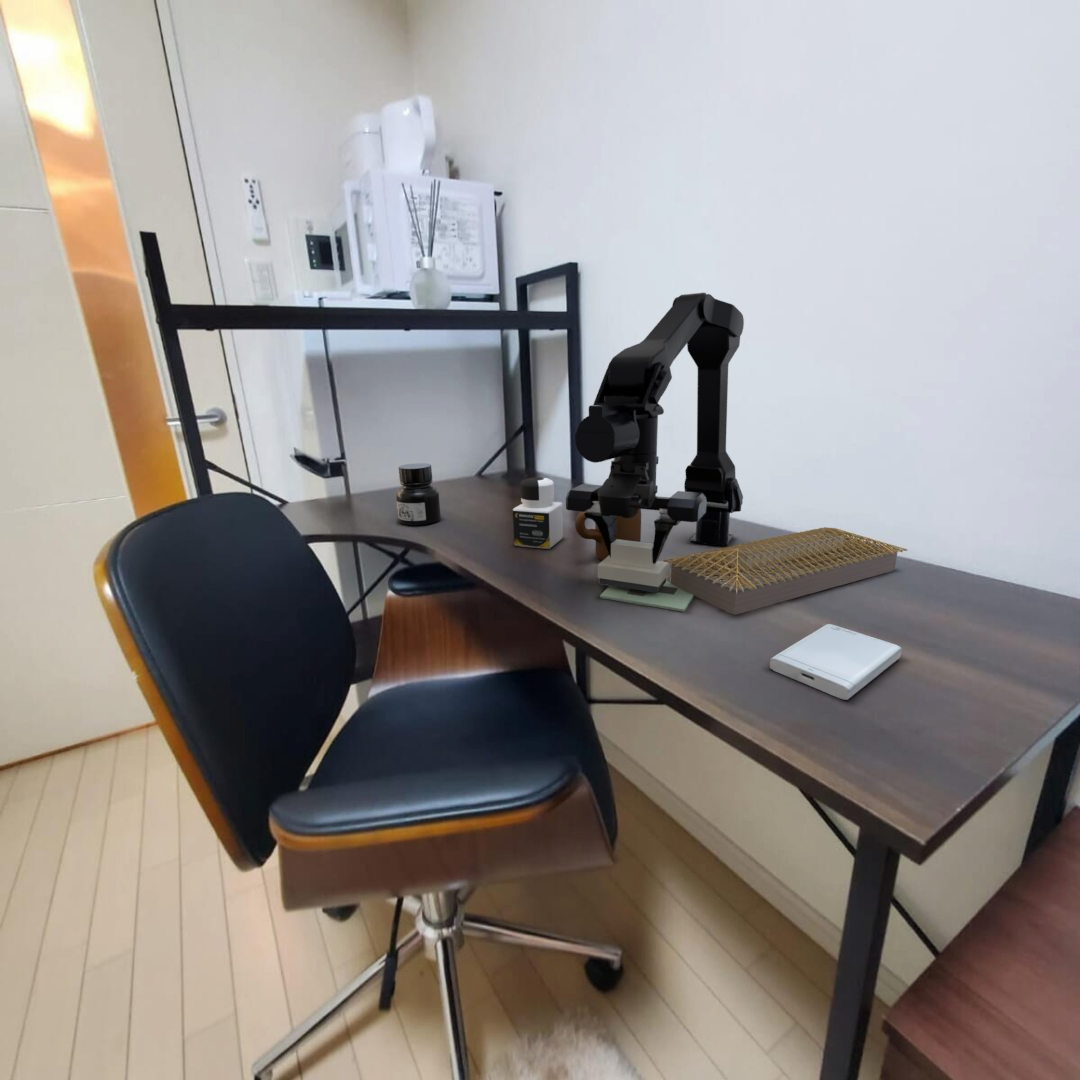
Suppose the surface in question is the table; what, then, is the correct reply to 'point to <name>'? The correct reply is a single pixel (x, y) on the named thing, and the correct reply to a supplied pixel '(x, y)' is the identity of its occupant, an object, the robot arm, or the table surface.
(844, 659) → the hard drive
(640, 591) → the desk mat
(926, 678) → the table surface
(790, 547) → the rafter model
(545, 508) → the medicine bottle
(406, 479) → the ink bottle
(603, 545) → the mug
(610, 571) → the white stepped block
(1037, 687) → the table surface
